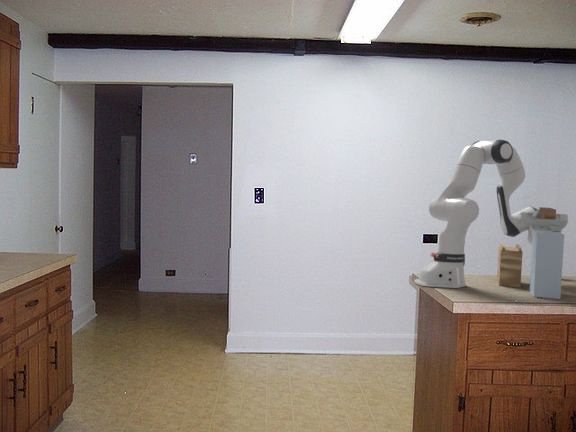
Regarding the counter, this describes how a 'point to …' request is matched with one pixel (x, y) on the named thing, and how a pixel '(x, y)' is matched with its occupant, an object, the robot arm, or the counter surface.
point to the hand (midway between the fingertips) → (545, 211)
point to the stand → (546, 264)
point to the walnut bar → (547, 213)
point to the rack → (509, 266)
